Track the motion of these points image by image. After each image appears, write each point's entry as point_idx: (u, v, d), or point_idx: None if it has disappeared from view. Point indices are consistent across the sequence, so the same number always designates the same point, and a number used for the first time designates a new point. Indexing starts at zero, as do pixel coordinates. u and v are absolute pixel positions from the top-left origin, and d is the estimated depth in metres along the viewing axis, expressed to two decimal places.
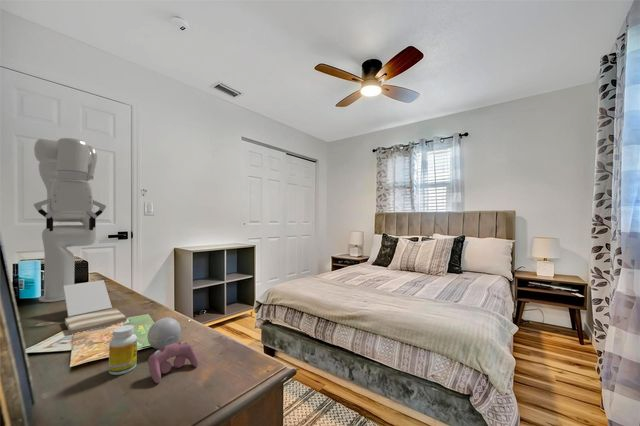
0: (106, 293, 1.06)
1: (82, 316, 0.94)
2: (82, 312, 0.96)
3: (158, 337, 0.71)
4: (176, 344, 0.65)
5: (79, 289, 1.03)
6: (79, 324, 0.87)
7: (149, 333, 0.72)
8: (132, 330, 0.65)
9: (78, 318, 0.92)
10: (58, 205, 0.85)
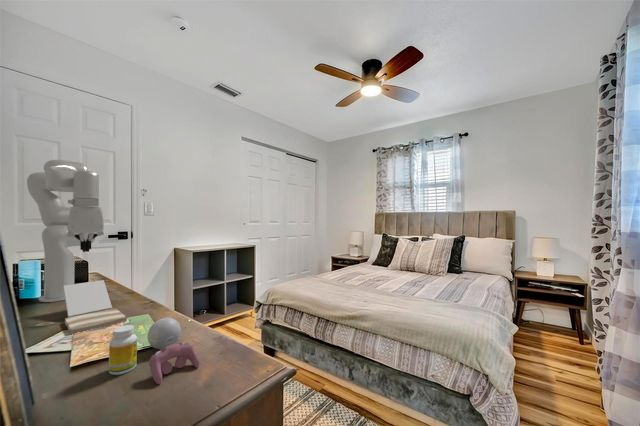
0: (106, 293, 1.06)
1: (82, 316, 0.94)
2: (82, 312, 0.96)
3: (158, 337, 0.71)
4: (177, 345, 0.65)
5: (79, 289, 1.03)
6: (79, 324, 0.87)
7: (149, 333, 0.72)
8: (132, 330, 0.65)
9: (78, 318, 0.92)
10: None
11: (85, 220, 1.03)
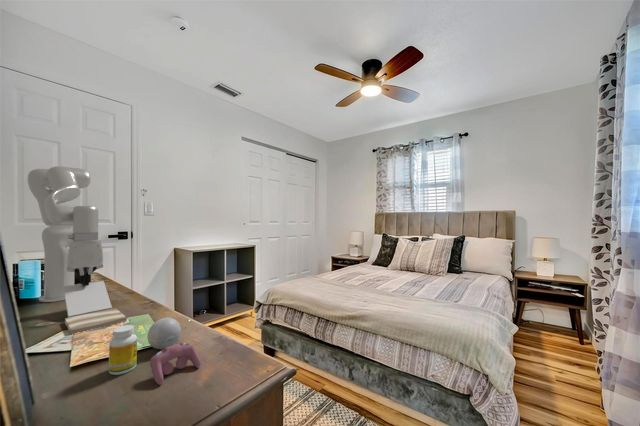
0: (106, 293, 1.06)
1: (82, 316, 0.94)
2: (82, 312, 0.96)
3: (158, 337, 0.71)
4: (178, 345, 0.65)
5: (79, 290, 1.04)
6: (79, 324, 0.87)
7: (149, 333, 0.72)
8: (132, 330, 0.65)
9: (78, 318, 0.92)
10: None
11: (85, 254, 1.04)
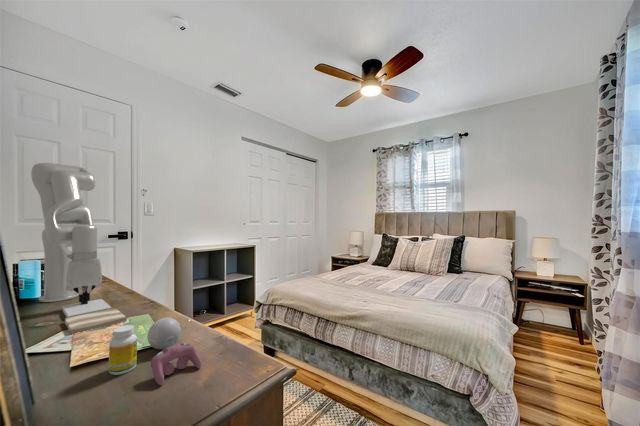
0: (105, 303, 1.08)
1: (82, 316, 0.94)
2: (82, 313, 0.97)
3: (158, 337, 0.71)
4: (179, 345, 0.65)
5: (78, 305, 1.05)
6: (79, 324, 0.87)
7: (149, 333, 0.72)
8: (132, 330, 0.65)
9: (78, 318, 0.92)
10: None
11: (84, 274, 1.05)
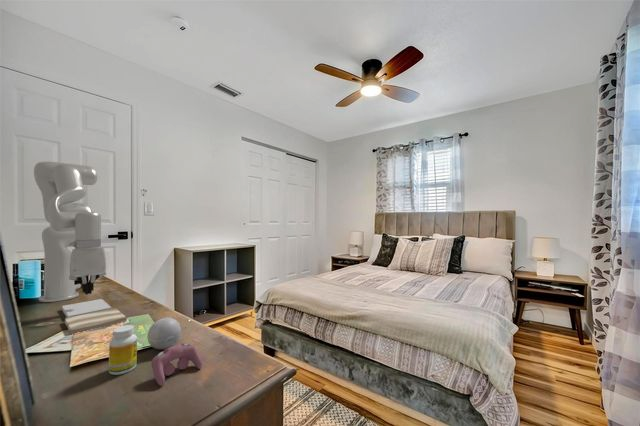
0: (105, 303, 1.08)
1: (82, 316, 0.94)
2: (82, 313, 0.97)
3: (158, 337, 0.71)
4: (179, 346, 0.64)
5: (78, 305, 1.05)
6: (79, 324, 0.87)
7: (149, 333, 0.72)
8: (132, 330, 0.65)
9: (78, 318, 0.92)
10: None
11: (87, 262, 1.01)
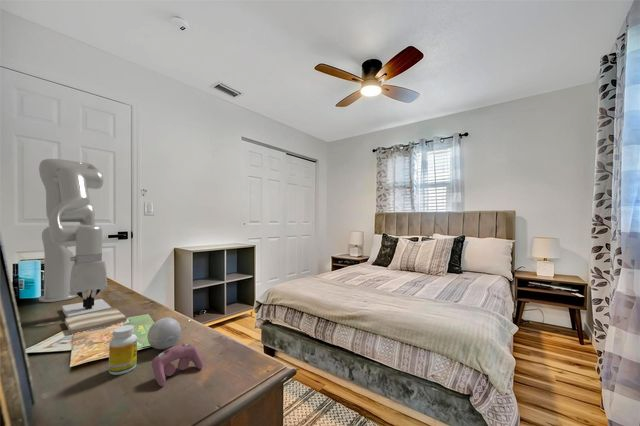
0: (105, 303, 1.08)
1: (82, 316, 0.94)
2: (82, 313, 0.97)
3: (158, 337, 0.71)
4: (180, 346, 0.64)
5: (78, 305, 1.05)
6: (79, 324, 0.87)
7: (149, 333, 0.72)
8: (132, 330, 0.65)
9: (78, 318, 0.92)
10: None
11: (88, 277, 0.99)
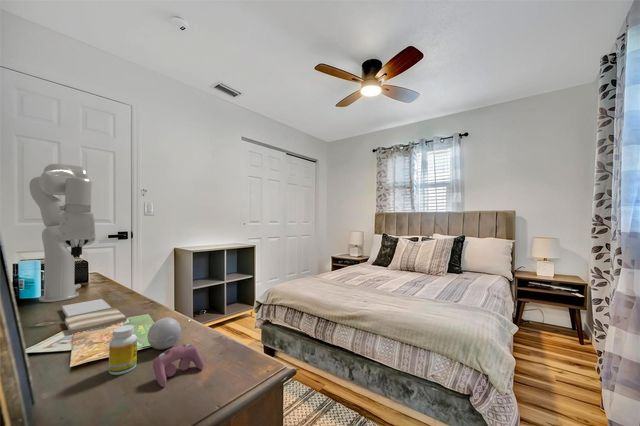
0: (105, 303, 1.08)
1: (82, 316, 0.94)
2: (82, 313, 0.97)
3: (158, 337, 0.71)
4: (181, 347, 0.64)
5: (78, 305, 1.05)
6: (79, 324, 0.87)
7: (149, 333, 0.72)
8: (132, 330, 0.65)
9: (78, 318, 0.92)
10: None
11: (76, 227, 1.03)
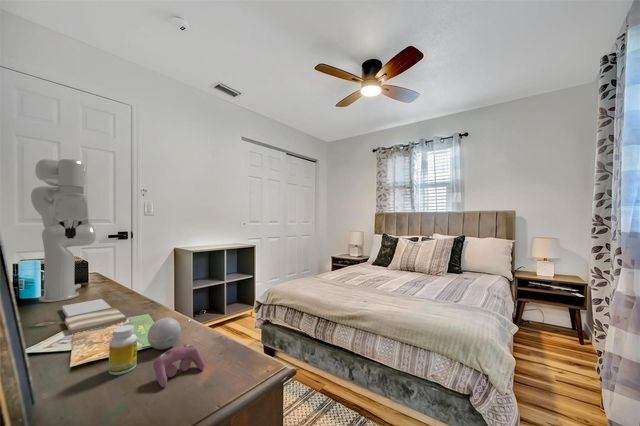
0: (105, 303, 1.08)
1: (82, 316, 0.94)
2: (82, 313, 0.97)
3: (158, 337, 0.71)
4: (182, 347, 0.64)
5: (78, 305, 1.05)
6: (79, 324, 0.87)
7: (149, 333, 0.72)
8: (132, 330, 0.65)
9: (78, 318, 0.92)
10: None
11: (70, 207, 1.05)
